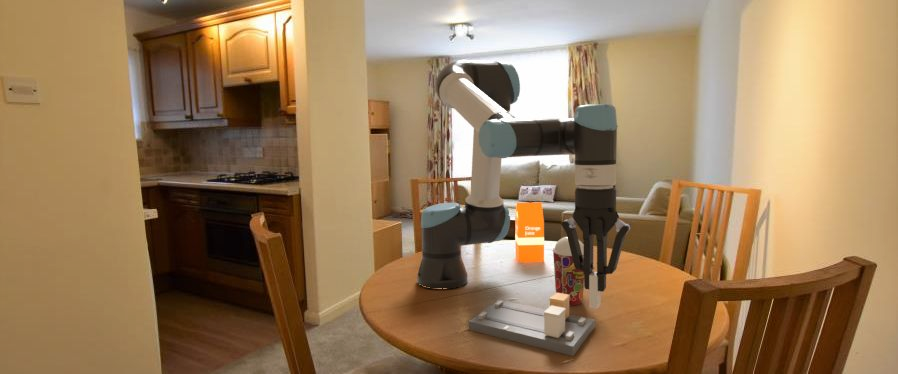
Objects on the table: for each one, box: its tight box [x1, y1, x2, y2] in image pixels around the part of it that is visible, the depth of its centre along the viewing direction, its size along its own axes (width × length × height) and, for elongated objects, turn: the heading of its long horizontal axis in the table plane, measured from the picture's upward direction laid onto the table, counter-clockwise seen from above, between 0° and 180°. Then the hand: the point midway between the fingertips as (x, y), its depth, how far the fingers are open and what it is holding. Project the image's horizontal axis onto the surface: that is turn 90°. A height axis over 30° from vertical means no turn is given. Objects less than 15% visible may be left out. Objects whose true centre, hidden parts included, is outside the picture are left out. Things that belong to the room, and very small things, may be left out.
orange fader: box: [549, 291, 570, 319], centre depth 100 cm, size 3×4×5 cm
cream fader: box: [544, 305, 566, 338], centre depth 93 cm, size 3×4×5 cm
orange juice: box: [514, 201, 545, 263], centre depth 155 cm, size 8×9×20 cm
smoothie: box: [552, 236, 585, 306], centre depth 115 cm, size 8×8×20 cm
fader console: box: [468, 299, 596, 357], centre depth 100 cm, size 24×15×3 cm, turn 56°
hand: (595, 305), depth 87 cm, fingers closed
